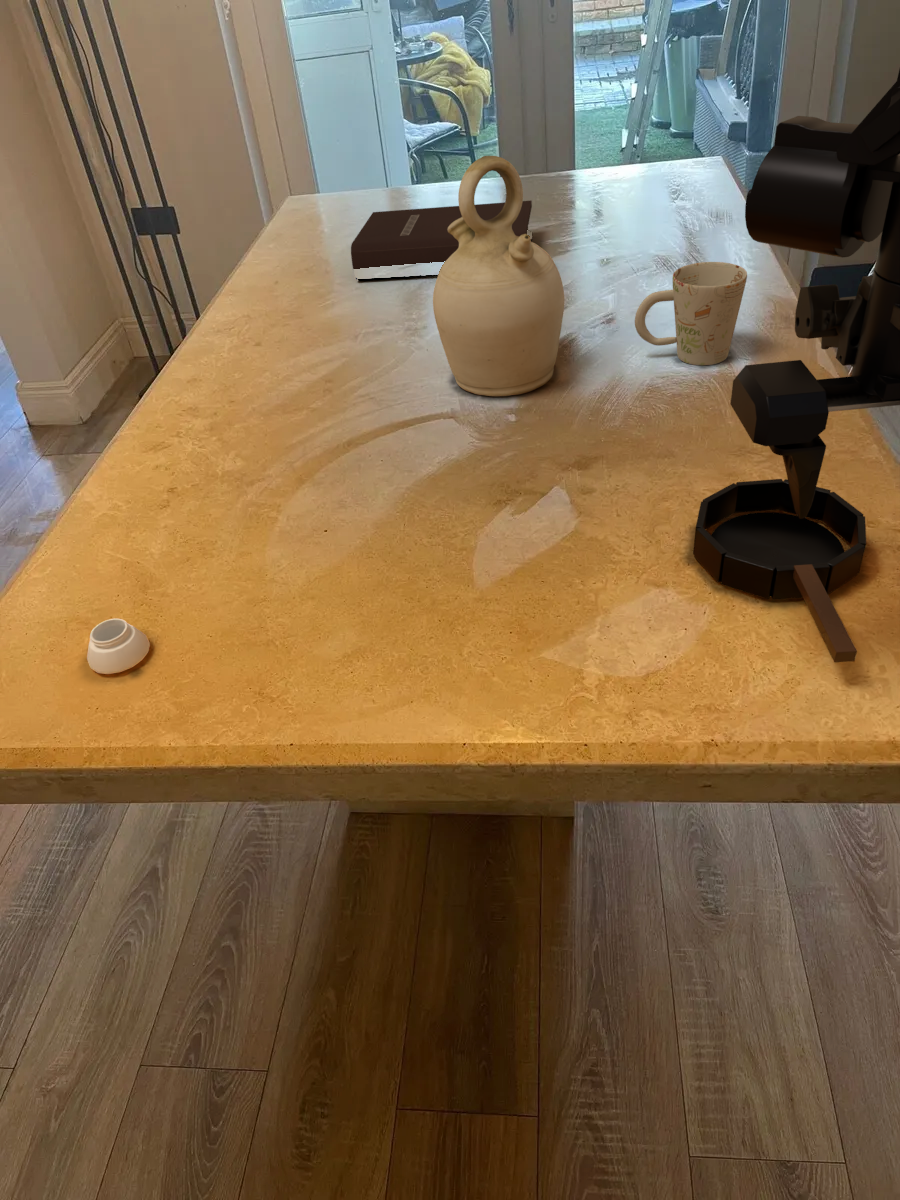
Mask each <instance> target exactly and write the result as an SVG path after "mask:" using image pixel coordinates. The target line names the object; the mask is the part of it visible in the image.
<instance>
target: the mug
mask: <svg viewBox="0 0 900 1200" xmlns="http://www.w3.org/2000/svg"><path fill="white" fill-rule="evenodd" d="M747 278H748V272H747V270H746V269H745V268H743V267H742V266H740V265H738V264H735V263H730V262H723V261H703V262H695V263H690V264H686V265H683V266H681V267H679V268H678V269H676V270H675V271H674V272H673V273H672V289H666V290H659V291H654V292H652V293H651V294H649V295H647V296H646V297H645V298H644V299H643V300H642V301H641V303H640V304H639V305H638V308H637V310H636V312H635V316H634V328H635V330H636V333H637V334H638V336H639V337H640V338H641V339H642V340H644V341H645V342H646V343H648V344H650V345H653V346H657V347H658V346H669V345H674V344H676V353H677V354H676V355H677V358H678V359H679V360H680V361H682V362H683V363H686V364H688V365H693V366H712V365H716V364H719V363H722V362H724V361H725V360H726V359H727V358H728V356H729V353H730V349H731V346H732V341H733V336H734V333H735V328H736V325H737V321H738V317H739V313H740V308H741V304H742V300H743V296H744V292H745V287H746V283H747ZM672 301H673V311H674V312H673V313H674V325H675V336H667V337H655V336H654V335H653V334H652V333H651V332H650V331H649V329H648V327H647V324H646V317H647V315H648V312H649V310H650V309H651V308H652V307H653V306H654V305H655V304H657V303H663V302H672Z"/></svg>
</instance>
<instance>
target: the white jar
mask: <svg viewBox="0 0 900 1200" xmlns="http://www.w3.org/2000/svg"><path fill="white" fill-rule="evenodd" d="M87 646H88V647H87V648H88V649H87V654H86V661H87V663H88V665H89V668H90V669H91V670H93V671H94V672H96V673H97V674H103V675H104V674H105V675H111V674H116V673H121V672H125V671H127V670H129V669H132V668H133V667H135V666H136V665H137V664H139V663H140V662H142V661H143V660H144V658H145V657H146V656H147V655H148V653H149V651H150V646H151V643H150V641H149V639H148V636H147V634H146V633H144V632H143V631H142V630H140V629H138V628H137V627H135V625H132V624H130V623H128V622H127V621H126V620H125V619H122V618H116V617H115V618H109V619H106V620H103V621H101V622H100V623H98V624H97V625H95V626H94V627H93V628H92V630H91V631H90V634H89V642H88V645H87Z"/></svg>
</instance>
